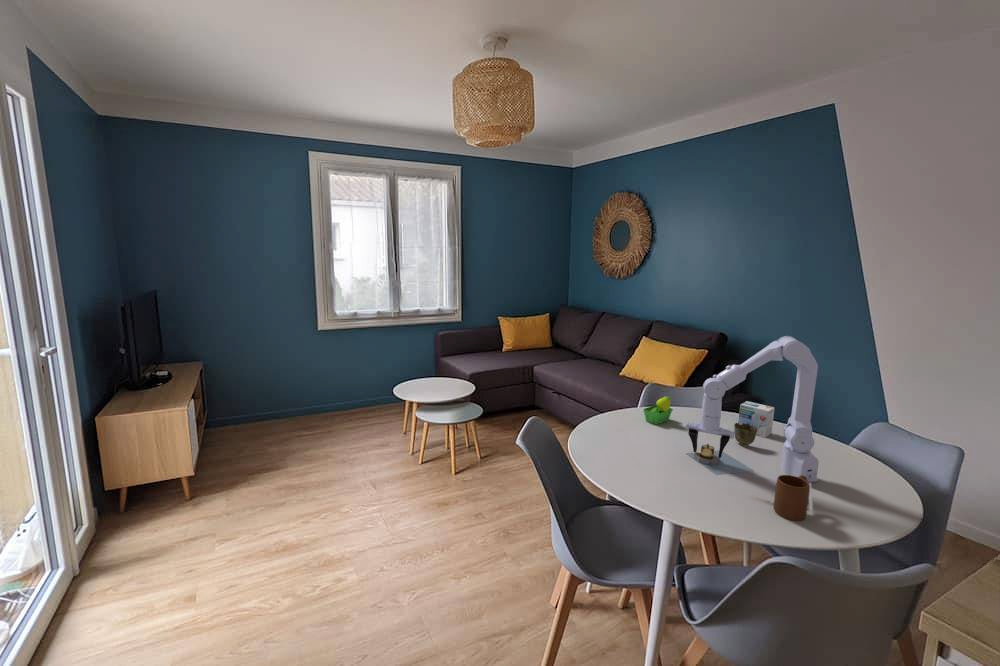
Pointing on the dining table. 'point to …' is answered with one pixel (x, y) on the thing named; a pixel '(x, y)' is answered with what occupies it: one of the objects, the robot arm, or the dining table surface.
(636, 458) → the dining table surface
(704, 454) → the knob
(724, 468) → the blue-grey flat slab
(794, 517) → the mug
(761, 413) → the light bulb box
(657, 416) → the fruit basket
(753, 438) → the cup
